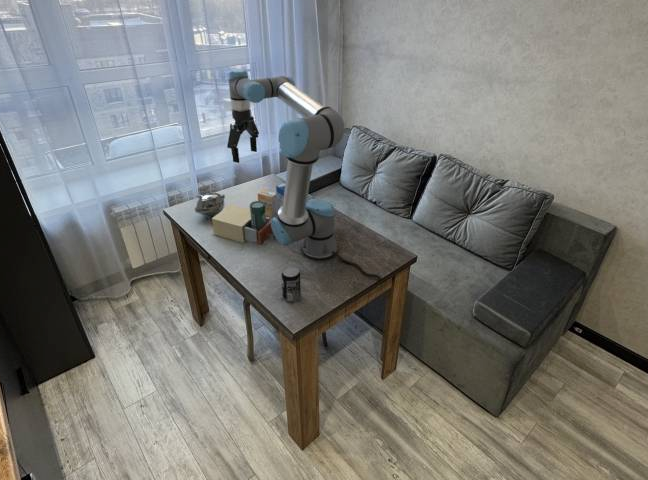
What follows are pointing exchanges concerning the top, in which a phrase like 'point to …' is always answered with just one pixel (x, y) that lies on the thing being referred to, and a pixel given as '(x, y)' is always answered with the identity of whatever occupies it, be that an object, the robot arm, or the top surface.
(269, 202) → the supplement box
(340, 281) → the top surface
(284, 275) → the beverage can
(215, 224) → the beige cardboard box
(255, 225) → the can
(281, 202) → the milk carton
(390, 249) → the top surface
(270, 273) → the top surface
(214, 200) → the piggy bank
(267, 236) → the drawer
